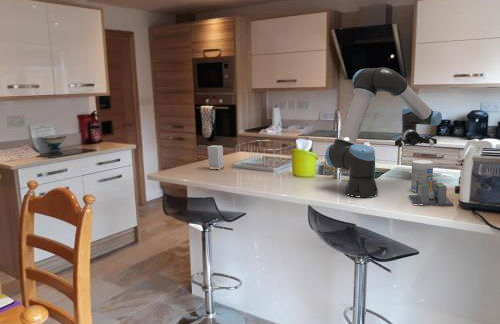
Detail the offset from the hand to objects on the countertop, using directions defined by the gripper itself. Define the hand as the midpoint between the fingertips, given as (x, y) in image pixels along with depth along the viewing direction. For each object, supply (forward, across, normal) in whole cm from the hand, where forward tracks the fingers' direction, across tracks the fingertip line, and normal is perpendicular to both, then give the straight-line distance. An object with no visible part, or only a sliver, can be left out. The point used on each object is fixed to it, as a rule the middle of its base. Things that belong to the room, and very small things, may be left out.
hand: (418, 145), depth 201 cm
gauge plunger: (+24, -1, -19) cm, 30 cm away
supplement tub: (+10, 0, -21) cm, 23 cm away
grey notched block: (+28, -1, -20) cm, 34 cm away
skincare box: (-34, +120, -17) cm, 125 cm away
